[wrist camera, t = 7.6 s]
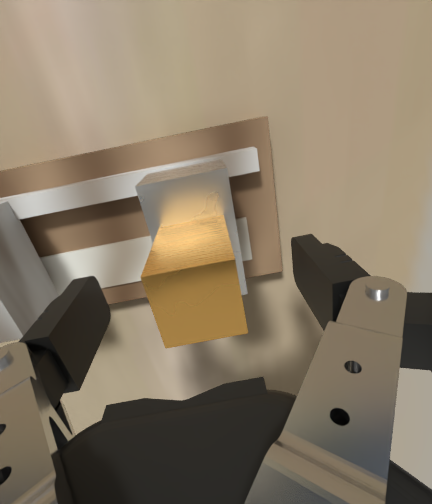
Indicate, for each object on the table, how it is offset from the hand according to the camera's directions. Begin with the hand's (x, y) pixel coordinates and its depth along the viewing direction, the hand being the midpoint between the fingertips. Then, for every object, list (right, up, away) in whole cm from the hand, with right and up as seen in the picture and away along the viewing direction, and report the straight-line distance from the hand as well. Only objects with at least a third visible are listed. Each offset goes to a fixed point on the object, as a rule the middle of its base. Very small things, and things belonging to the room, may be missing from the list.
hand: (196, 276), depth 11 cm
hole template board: (-6, +3, +8) cm, 10 cm away
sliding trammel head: (0, +3, +6) cm, 6 cm away
